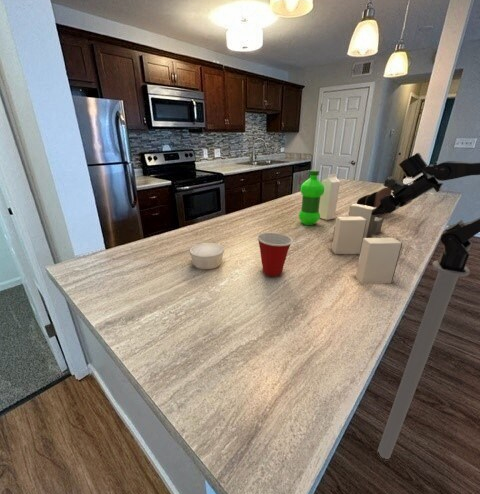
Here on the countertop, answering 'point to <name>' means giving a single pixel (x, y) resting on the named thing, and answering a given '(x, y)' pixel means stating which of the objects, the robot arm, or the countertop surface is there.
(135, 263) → the countertop surface
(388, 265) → the white books
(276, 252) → the plastic cup
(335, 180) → the milk
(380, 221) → the grey books
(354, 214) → the cream rectangular block
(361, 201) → the letter holder
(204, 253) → the ramekin
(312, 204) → the plastic bottle
